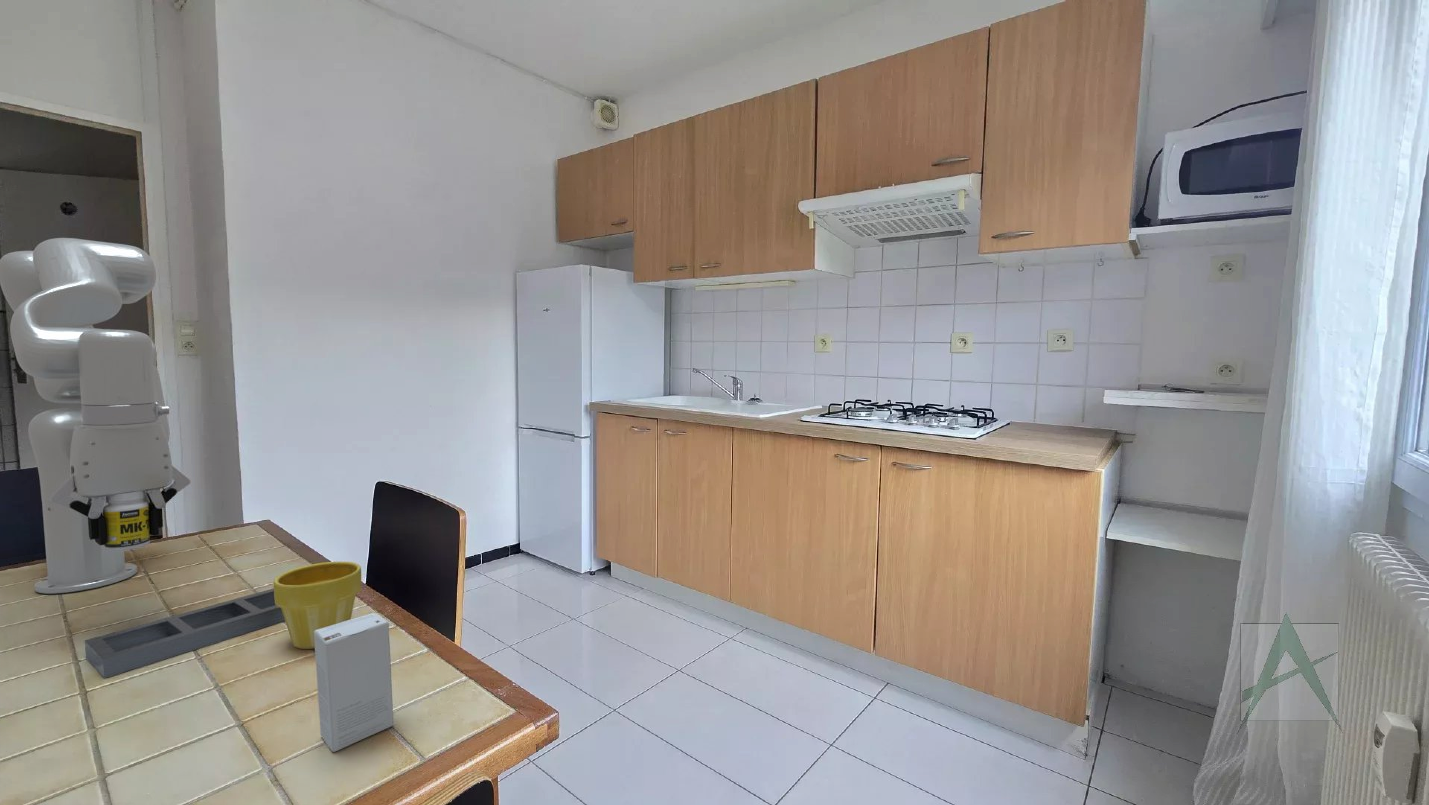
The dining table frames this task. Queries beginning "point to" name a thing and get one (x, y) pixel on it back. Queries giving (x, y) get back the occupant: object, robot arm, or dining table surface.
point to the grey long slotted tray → (181, 633)
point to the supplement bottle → (127, 521)
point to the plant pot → (316, 598)
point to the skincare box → (353, 680)
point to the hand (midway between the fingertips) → (127, 537)
